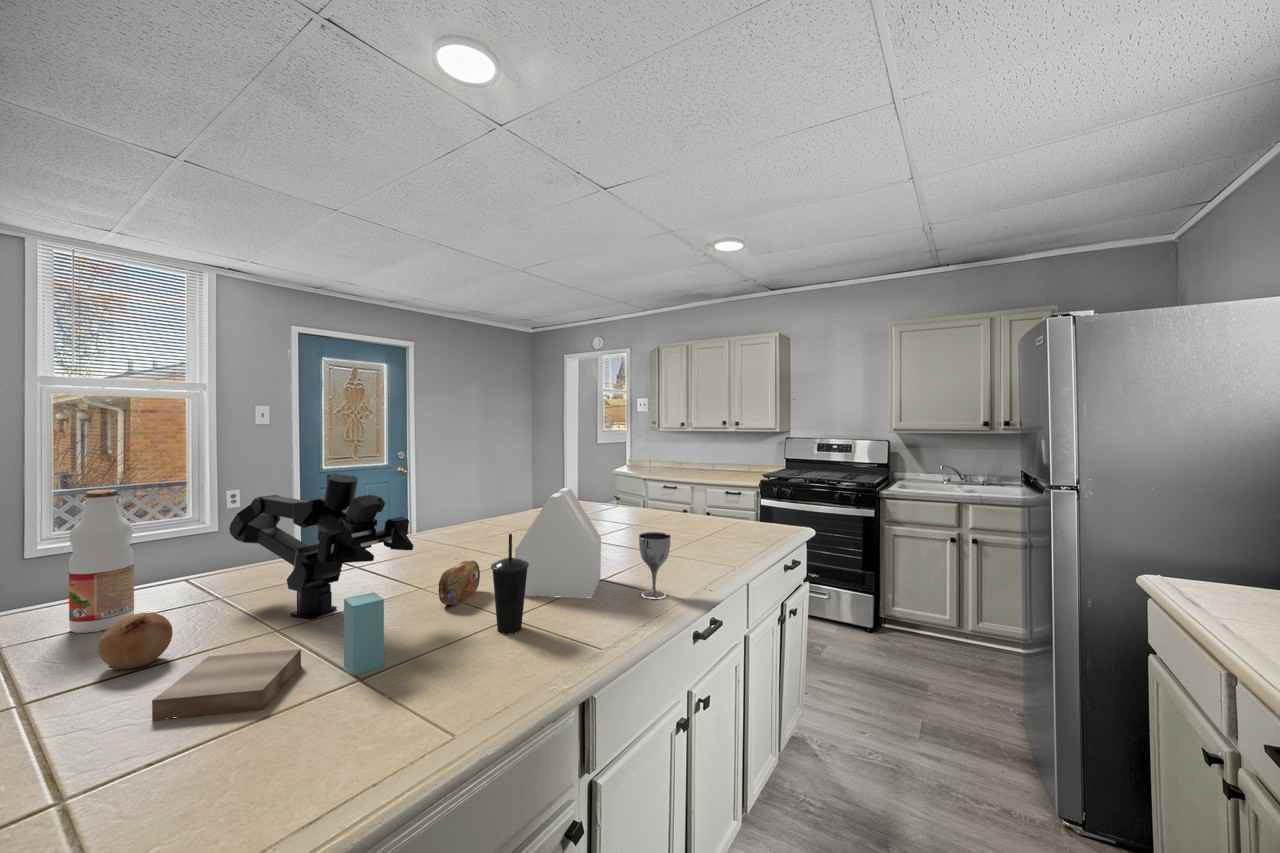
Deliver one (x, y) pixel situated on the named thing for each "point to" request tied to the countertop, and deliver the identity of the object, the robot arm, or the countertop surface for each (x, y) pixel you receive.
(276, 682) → the walnut base
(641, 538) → the wine glass
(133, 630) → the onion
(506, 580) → the drinking cup
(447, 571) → the tin
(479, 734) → the countertop surface
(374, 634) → the teal block
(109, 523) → the fruit juice
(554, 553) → the milk carton
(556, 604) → the countertop surface
